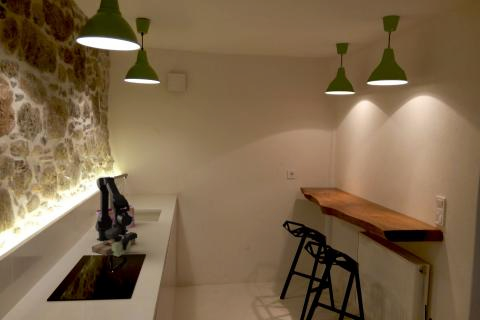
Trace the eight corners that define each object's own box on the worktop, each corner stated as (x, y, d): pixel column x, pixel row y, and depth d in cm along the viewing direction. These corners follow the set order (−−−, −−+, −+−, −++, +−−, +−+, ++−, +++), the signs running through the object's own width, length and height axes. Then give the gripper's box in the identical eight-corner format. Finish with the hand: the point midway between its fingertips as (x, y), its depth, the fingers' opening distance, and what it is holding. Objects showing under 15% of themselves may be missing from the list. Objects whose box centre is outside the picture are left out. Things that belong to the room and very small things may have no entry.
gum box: (133, 223, 240) (132, 204, 238) (137, 226, 233) (136, 207, 232) (97, 230, 227) (95, 210, 225) (99, 233, 220) (98, 212, 219)
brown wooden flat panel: (92, 251, 189) (91, 246, 189) (120, 240, 206) (120, 235, 206) (106, 255, 183) (106, 250, 183) (135, 243, 201) (135, 238, 200)
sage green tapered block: (112, 256, 181) (111, 244, 180) (127, 249, 190) (126, 238, 189) (116, 257, 179) (116, 245, 179) (131, 250, 188) (130, 239, 187)
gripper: (95, 223, 180) (97, 251, 182) (120, 228, 171) (122, 258, 173) (113, 217, 190) (114, 244, 192) (137, 222, 181) (138, 250, 182)
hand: (121, 249), depth 184 cm, fingers closed on sage green tapered block, 3 cm apart
